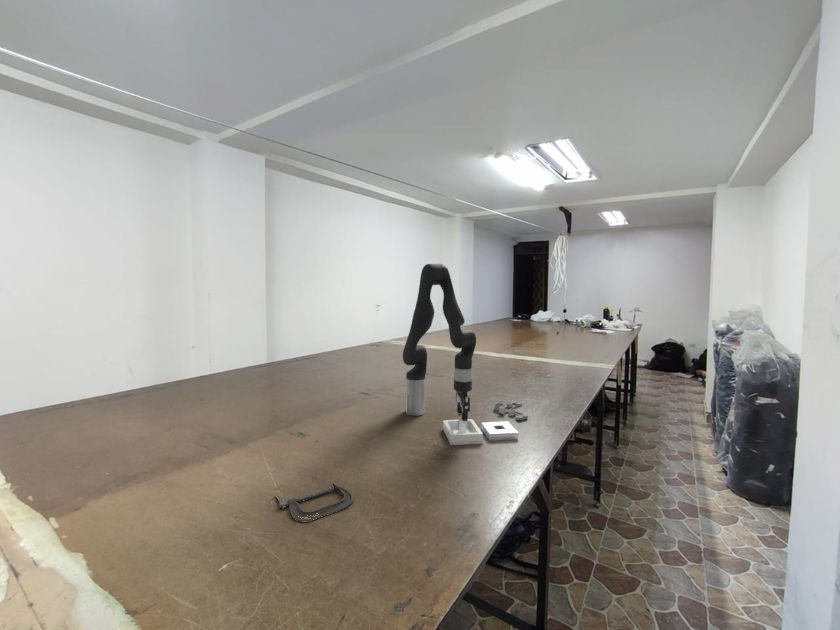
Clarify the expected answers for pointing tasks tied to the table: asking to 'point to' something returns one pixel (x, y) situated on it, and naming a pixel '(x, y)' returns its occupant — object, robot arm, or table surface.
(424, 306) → the robot arm
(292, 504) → the c clamp
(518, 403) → the pulley system
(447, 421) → the parts tray
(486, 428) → the block
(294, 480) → the table surface
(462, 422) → the lock pin
